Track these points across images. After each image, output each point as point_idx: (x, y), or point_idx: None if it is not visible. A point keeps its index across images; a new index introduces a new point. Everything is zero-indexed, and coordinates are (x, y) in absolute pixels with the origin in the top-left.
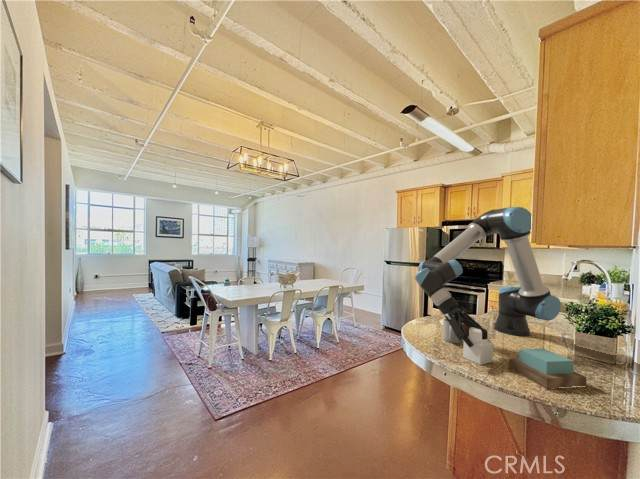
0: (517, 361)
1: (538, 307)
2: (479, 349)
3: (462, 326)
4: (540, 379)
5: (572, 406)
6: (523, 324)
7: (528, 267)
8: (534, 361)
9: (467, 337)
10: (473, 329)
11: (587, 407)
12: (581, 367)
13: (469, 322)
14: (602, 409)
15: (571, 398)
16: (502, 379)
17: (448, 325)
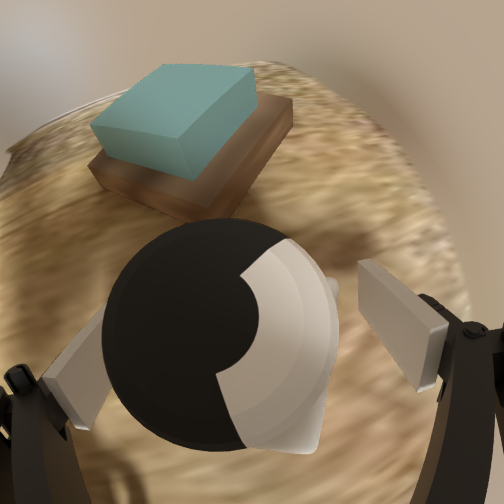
0: (211, 179)
1: None
2: (382, 269)
3: (475, 435)
4: (283, 122)
5: (331, 92)
6: None
7: None
8: (231, 109)
9: (447, 337)
10: (315, 347)
11: (303, 82)
12: (52, 157)
13: (60, 492)
14: (283, 74)
15: (289, 97)
16: (367, 204)
17: None
